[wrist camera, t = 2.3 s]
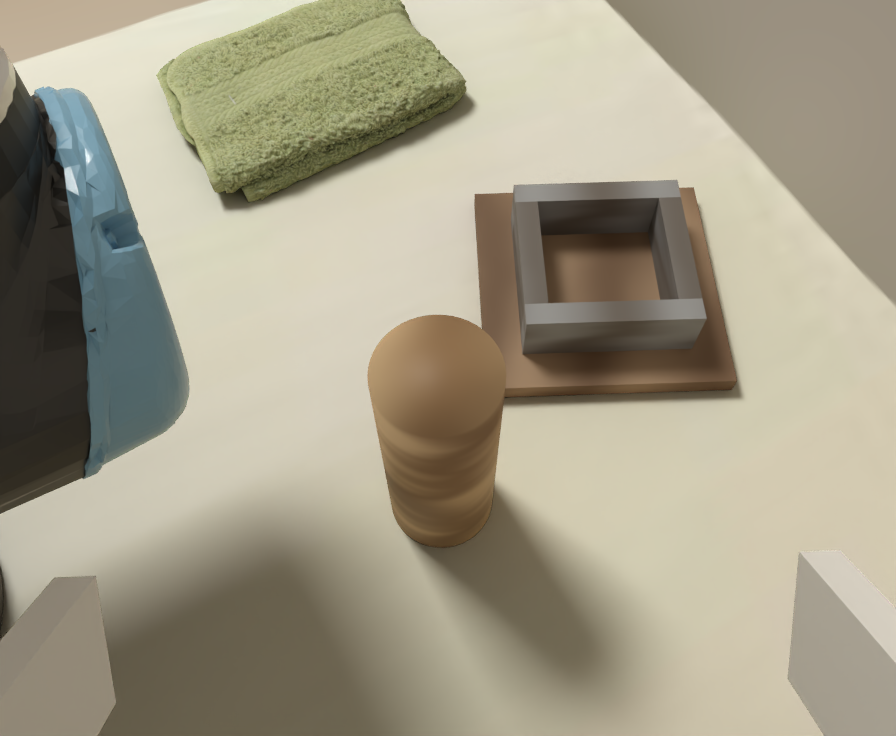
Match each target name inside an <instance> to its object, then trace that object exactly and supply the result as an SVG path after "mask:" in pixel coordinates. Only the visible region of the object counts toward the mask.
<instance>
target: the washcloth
mask: <svg viewBox="0 0 896 736" xmlns="http://www.w3.org/2000/svg"><path fill="white" fill-rule="evenodd" d="M156 76H157V77H158V80H159V82H160V84H161V87H162V88H163V91H164V93H165V95H166V99H167V102H168V105H169V107H170V111H171V113H172V115H173V119H174V121H175V123H176V126H177V128H178V130H180V132H181V134H182V135H183V136H184V137H185V139H186V140H187V141H188V142H190V143H191V144H192V145H194V146H195V148H196V150H197V153H198V155H199V157H200V159H201V161H202V162H203V165H204V167H205V169H206V171H207V175H208V177H209V181H210V183H211V185H212V187H213V189H214V191H215V192H217V193H220V192H222V191H224V190H226V193H228V192H229V193H233V192H235V191H237V190H238V189H239V188H241V189H242V190H243V192H244V194H245V196H246V198H247V201H248V202H253V201H256V200H258V199H261V200H263V199H264V198H265V197H267V196H268V195H270V194H271V193H273V192H275V193H276V192H278V191H279V190H281V189H285V188H287V187H288V186H290V185H292V183H295V182H297V181H298V180H303V179H304V178H308V177H309V176H311V175H314V174H315V173H317V172H320V171H322V170H323V169H325V168H327V167H329V166H330V165H336V164H339V163H340V162H342V161H343V160H346V159H348V158H351V157H352V156H353V155H356V154H357V153H360V152H363V151H365V150H366V149H367V148H371V147H373V146H374V145H376V144H380V143H382V142H383V141H384V140H386V139H390V138H391V137H396V136H398V134H399V133H401V132H402V133H404V131H405V130H406V129H407V128H411V127H414V126H415V125H418V124H420V122H421V121H428V120H430V119H431V118H432V117H434V116H435V115H437V114H438V113H440V112H446V111H447V110H449V109H451V108H452V107H453V105H454V104H455V103H456V102H457V101H459V99H460V98H461V97H462V95H463V94H464V93H465V92H466V87H465V83H466V80H465V79H464V78H463V76H462V75H461V73H460V72H459V71H458V70H457V69H456V68H455V67H454V66H453V65H452V64H451V63H449V61H448V60H447V59H446V58H445V57H444V56H443V55H441V54H440V50H437V49H436V47H435V45H434V44H433V43H432V41H430V40H428V39H427V38H426V37H423V36H421V35H420V33H419V32H418V31H417V30H416V29H415V28H414V27H413V26H412V25H411V21H410V19H409V15H408V13H407V12H406V10H405V6H404V5H403V4H402V2H401V1H400V0H319V1H316V2H313V3H309V4H304V5H300V6H297V7H295V8H292V9H291V10H289V11H287V12H285V13H282V14H280V15H277V16H275V17H272V18H270V19H268V20H265V21H263V22H261V23H259V24H256V25H254V26H251V27H249V28H247V29H244V30H241V31H238V32H235V33H231V34H229V35H226V36H224V37H220V38H216V39H213V40H211V41H208V42H205V43H202V44H199V45H197V46H195V47H192V48H190V49H188V50H186V51H185V52H183V53H182V54H180V55H179V56H178V57H177V58H176V59H172V60H171V61H169V63H167V64H166V65H165V66H164V67H163V68H162V69H160V71H159V73H158V74H157V75H156Z"/></svg>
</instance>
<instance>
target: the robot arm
mask: <svg viewBox="0 0 896 736" xmlns="http://www.w3.org/2000/svg"><path fill="white" fill-rule="evenodd" d="M188 397H189V377H188V372H187V368H186V364H185V361H184V357H183V353H182V350H181V347H180V343H179V340H178V337H177V334H176V330H175V327H174V324H173V321H172V318H171V315H170V312H169V309H168V306H167V303H166V300H165V297H164V294H163V292H162V289H161V286H160V283H159V280H158V277H157V274H156V271H155V269H154V266H153V263H152V261H151V258H150V255H149V252H148V250H147V247H146V245H145V242H144V240H143V237H142V236H141V235H140V233H139V230H138V223H137V220H136V218H135V215H134V212H133V210H132V207H131V204H130V202H129V199H128V195H127V191H126V188H125V185H124V183H123V180H122V177H121V174H120V172H119V169H118V166H117V164H116V161H115V159H114V156H113V153H112V151H111V148H110V146H109V143H108V141H107V138H106V136H105V133H104V131H103V128H102V126H101V124H100V121H99V119H98V117H97V114H96V112H95V110H94V108H93V106H92V104H91V102H90V101H89V99H88V98H87V96H86V95H85V94H84V93H82V92H80V91H79V90H76V89H73V88H66V89H60V90H55V89H54V88H51V87H46V88H44V87H42V88H39V89H37V90H35V92H34V95H32V96H31V97H30V95H29V93H28V91H27V89H26V88H25V86H24V84H23V82H22V80H21V79H20V77H19V75H18V73H17V71H16V70H15V68H14V66H13V64H12V63H11V61H10V59H9V57H8V56H7V54H6V52H5V51H4V49H3V48H2V47H1V46H0V514H1V513H3V512H5V511H7V510H10V509H12V508H14V507H17V506H19V505H21V504H23V503H26V502H28V501H30V500H33V499H35V498H37V497H39V496H42V495H44V494H46V493H49V492H51V491H53V490H55V489H58V488H60V487H62V486H65V485H67V484H69V483H71V482H74V481H76V480H78V479H81V478H83V479H85V478H88V477H90V476H92V475H94V474H97V473H98V472H99V470H100V469H101V468H102V465H104V464H106V463H108V462H109V461H111V460H113V459H115V458H117V457H119V456H121V455H123V454H125V453H127V452H128V451H130V450H132V449H134V448H136V447H138V446H140V445H142V444H144V443H146V442H147V441H149V440H151V439H153V438H155V437H157V436H159V435H161V434H163V433H164V432H166V431H167V430H168V429H169V428H170V427H171V426H172V425H173V424H174V423H175V421H176V420H177V419H178V418H179V416H180V415H181V414H182V413H183V411H184V409H185V407H186V404H187V400H188ZM2 612H3V588H2V580H1V574H0V628H1V621H2ZM788 680H789V682H790V683H791V685H792V686H793V688H794V689H795V691H796V693H797V694H798V696H799V697H800V699H801V700H802V702H803V703H804V705H805V707H806V708H807V710H808V711H809V713H810V714H811V716H812V717H813V719H814V721H815V722H816V724H817V725H818V727H819V728H820V730H821V731H822V733H823V735H824V736H896V607H895V606H894V605H893V604H892V603H891V602H890V601H889V600H888V599H887V598H886V597H885V596H884V595H883V594H882V593H881V592H880V591H879V590H878V589H877V588H876V587H875V586H874V585H873V584H872V583H871V582H870V581H869V580H868V578H867V577H866V576H865V575H864V574H863V573H862V572H861V571H860V570H859V569H858V568H857V567H856V566H855V565H854V564H853V563H852V562H851V561H850V560H849V559H848V558H847V557H846V556H845V555H844V554H843V553H842V552H841V551H840V550H825V551H799V557H798V568H797V579H796V590H795V601H794V613H793V624H792V635H791V646H790V657H789V668H788ZM115 704H116V698H115V692H114V686H113V680H112V674H111V668H110V661H109V655H108V649H107V643H106V637H105V631H104V625H103V618H102V612H101V606H100V600H99V594H98V588H97V581H96V576H86V577H58V578H54V579H53V580H52V581H51V582H50V583H49V585H48V586H47V587H46V588H45V589H44V590H43V592H42V593H41V594H40V595H39V596H38V597H37V598H36V600H35V601H34V602H33V603H32V604H31V605H30V607H29V608H28V609H27V610H26V611H25V612H24V614H23V615H22V616H21V617H20V618H19V619H18V621H17V622H16V623H15V624H14V625H13V626H12V628H11V629H10V630H9V631H8V632H7V633H6V634H5V636H4V637H3V638H2V639H1V640H0V736H98V734H99V732H100V731H101V729H102V727H103V725H104V723H105V722H106V720H107V718H108V716H109V715H110V713H111V711H112V709H113V708H114V706H115Z"/></svg>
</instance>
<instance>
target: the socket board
mask: <svg viewBox="0 0 896 736" xmlns="http://www.w3.org/2000/svg"><path fill="white" fill-rule="evenodd" d="M475 221H476V238H477V255H478V271H479V288H480V304H481V321H482V329H483V330H484V331H485V332H486V333H487V334H488V335H489V336H490V337H491V338H492V339H493V340H494V341H495V343H496V344H497V346H498V347H499V349H500V351H501V353H502V355H503V358H504V362H505V367H506V385H505V394H504V397H521V396H552V395H583V394H614V393H644V392H675V391H706V390H732V388H733V386H734V385H735V383H736V382H737V379H736V374H735V370H734V365H733V361H732V356H731V352H730V347H729V343H728V338H727V334H726V330H725V325H724V321H723V316H722V312H721V307H720V303H719V298H718V294H717V289H716V285H715V280H714V276H713V272H712V267H711V263H710V258H709V254H708V249H707V245H706V240H705V236H704V231H703V227H702V223H701V218H700V214H699V209H698V205H697V200H696V196H695V191H694V187H693V188H679V186H678V181H677V180H664V181H631V182H598V183H565V184H532V185H514V190H513V193H497V194H475Z"/></svg>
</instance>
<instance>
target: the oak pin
mask: <svg viewBox="0 0 896 736" xmlns="http://www.w3.org/2000/svg"><path fill="white" fill-rule="evenodd" d="M505 385H506V367H505V362H504V358H503V355H502V353H501V351H500V349H499V347H498V346H497V344H496V343H495V341H494V340H493V339H492V338H491V337H490V336H489V335H488V334H487V333H486V332H485V331H484V330H483V329H481V328H480V327H478V326H477V325H475V324H473V323H471V322H469V321H467V320H464V319H461V318H458V317H454V316H447V315H428V316H422V317H417V318H414V319H411V320H409V321H406V322H404V323H402V324H400V325H399V326H397V327H395V328H394V329H393V330H391V331H390V332H389V333H388V334H387V335H386V336H385V337H384V338H383V339H382V340H381V341H380V342H379V344H378V345H377V347H376V348H375V350H374V352H373V354H372V357H371V359H370V363H369V367H368V386H369V391H370V396H371V401H372V407H373V412H374V417H375V422H376V427H377V432H378V438H379V443H380V448H381V453H382V458H383V463H384V469H385V474H386V479H387V484H388V489H389V494H390V499H391V505H392V510H393V514H394V516H395V519H396V521H397V523H398V524H399V526H400V527H401V529H402V530H403V531H404V532H405V533H406V534H407V535H408V536H409V537H411V538H412V539H414V540H415V541H417V542H419V543H421V544H424V545H427V546H431V547H441V548H444V547H452V546H456V545H459V544H462V543H464V542H466V541H468V540H469V539H471V538H472V537H474V536H475V535H476V534H477V533H478V532H479V531H480V530H481V529H482V528H483V526H484V525H485V523H486V521H487V519H488V517H489V515H490V511H491V506H492V498H493V490H494V481H495V472H496V464H497V455H498V446H499V438H500V429H501V420H502V411H503V403H504V394H505Z"/></svg>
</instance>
